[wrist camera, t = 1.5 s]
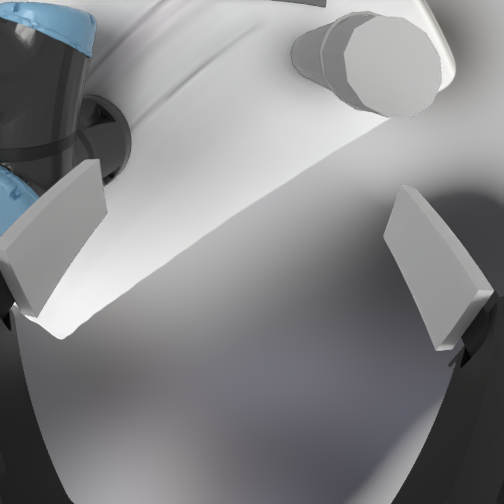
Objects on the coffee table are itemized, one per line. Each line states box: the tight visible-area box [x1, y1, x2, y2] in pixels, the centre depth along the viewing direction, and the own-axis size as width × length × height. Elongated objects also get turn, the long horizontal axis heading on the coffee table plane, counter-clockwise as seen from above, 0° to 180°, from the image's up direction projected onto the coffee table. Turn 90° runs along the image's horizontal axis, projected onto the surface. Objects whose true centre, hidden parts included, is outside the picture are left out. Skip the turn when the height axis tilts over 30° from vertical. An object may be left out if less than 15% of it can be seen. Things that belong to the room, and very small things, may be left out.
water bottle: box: [291, 11, 442, 118], centre depth 23 cm, size 9×8×25 cm
